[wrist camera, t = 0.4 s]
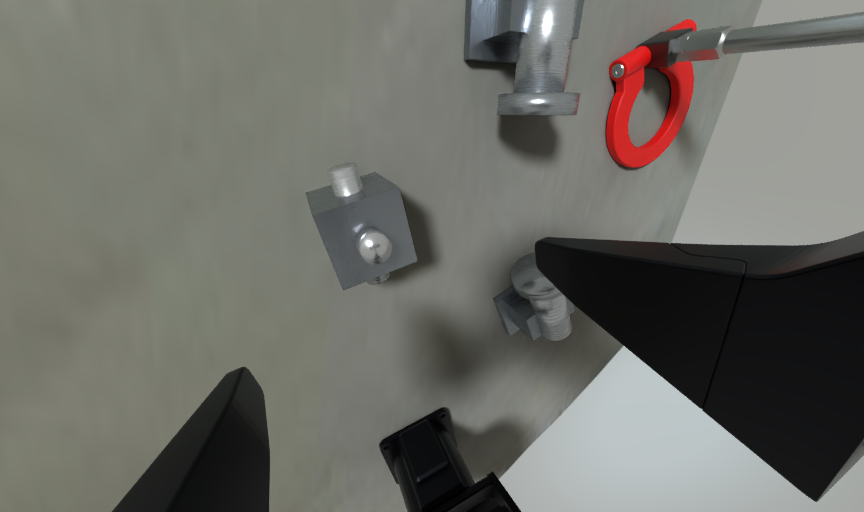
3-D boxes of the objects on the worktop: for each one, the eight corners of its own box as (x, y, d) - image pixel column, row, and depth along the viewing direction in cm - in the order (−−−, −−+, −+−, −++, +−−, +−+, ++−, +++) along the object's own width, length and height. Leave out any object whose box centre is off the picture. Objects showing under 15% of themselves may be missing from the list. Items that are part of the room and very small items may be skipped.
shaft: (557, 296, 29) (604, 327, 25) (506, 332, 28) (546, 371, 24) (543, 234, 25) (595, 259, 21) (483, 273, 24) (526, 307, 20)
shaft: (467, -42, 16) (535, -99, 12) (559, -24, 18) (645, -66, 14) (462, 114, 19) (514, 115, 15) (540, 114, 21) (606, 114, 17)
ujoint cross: (396, 249, 21) (431, 290, 16) (337, 271, 20) (355, 322, 15) (368, 151, 18) (401, 165, 13) (296, 170, 16) (302, 194, 12)
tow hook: (674, 136, 28) (684, 14, 23) (913, 162, 18) (1036, -52, 12) (603, 183, 27) (597, 65, 21) (816, 240, 16) (906, 38, 11)
